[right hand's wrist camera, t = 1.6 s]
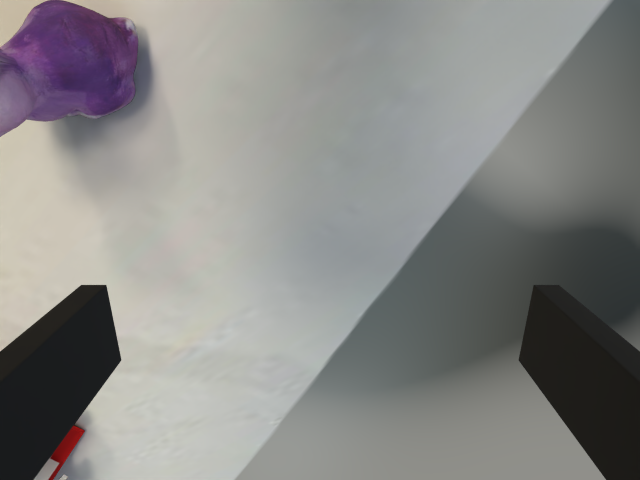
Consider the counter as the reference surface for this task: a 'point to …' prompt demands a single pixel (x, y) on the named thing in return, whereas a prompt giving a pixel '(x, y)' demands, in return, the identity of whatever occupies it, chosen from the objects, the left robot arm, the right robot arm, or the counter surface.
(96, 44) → the figurine
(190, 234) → the counter surface
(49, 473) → the toy
